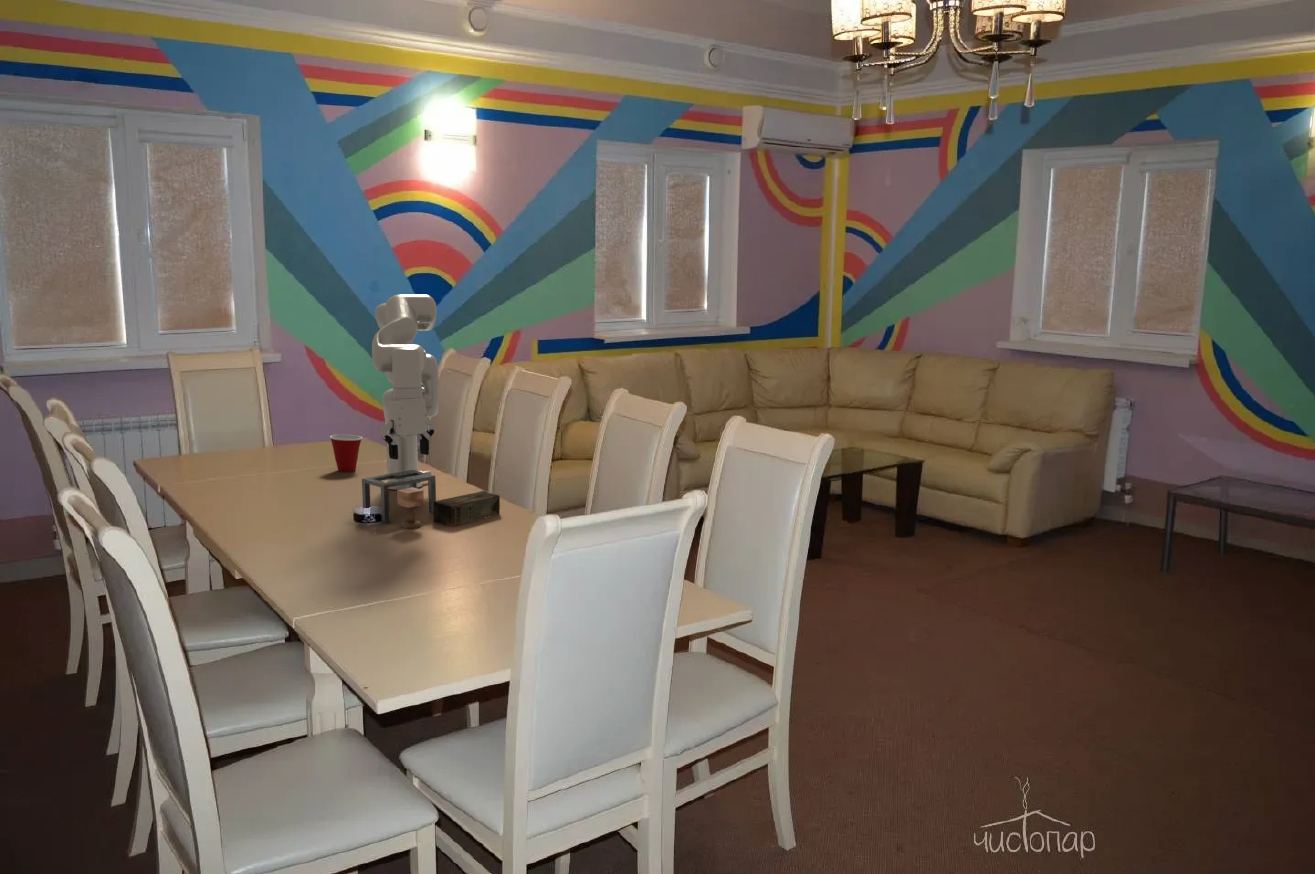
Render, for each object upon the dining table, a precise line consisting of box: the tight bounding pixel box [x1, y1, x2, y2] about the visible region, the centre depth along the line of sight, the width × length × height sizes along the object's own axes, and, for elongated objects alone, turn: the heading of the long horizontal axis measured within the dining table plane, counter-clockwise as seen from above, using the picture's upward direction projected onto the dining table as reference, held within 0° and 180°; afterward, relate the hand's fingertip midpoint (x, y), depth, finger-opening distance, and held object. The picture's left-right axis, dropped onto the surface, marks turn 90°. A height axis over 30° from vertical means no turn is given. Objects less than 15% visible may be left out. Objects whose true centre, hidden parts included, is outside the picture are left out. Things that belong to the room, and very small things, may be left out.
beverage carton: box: [432, 490, 501, 528], centre depth 286 cm, size 8×19×7 cm, turn 143°
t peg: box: [396, 487, 425, 530], centre depth 276 cm, size 5×5×10 cm
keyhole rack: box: [361, 470, 437, 524], centre depth 288 cm, size 17×11×11 cm, turn 138°
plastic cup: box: [329, 434, 363, 473], centre depth 346 cm, size 11×11×12 cm
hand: (409, 456), depth 273 cm, fingers open, 9 cm apart
